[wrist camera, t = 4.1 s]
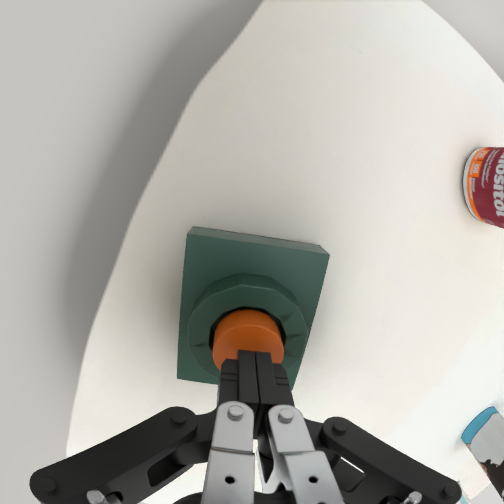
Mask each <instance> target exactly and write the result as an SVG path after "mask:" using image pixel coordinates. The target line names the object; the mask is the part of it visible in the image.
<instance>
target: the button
mask: <svg viewBox="0 0 504 504" xmlns="http://www.w3.org/2000/svg"><path fill="white" fill-rule="evenodd" d="M238 349H241V350H250V351H261V352H270V353H271V358H272V363H280V364H281V362H282V360H283V356H284V348H283V344H282V340H281V336H280V332H279V329H278V326H277V324H276V323H275V321H274V320H273V319H272V318H271V317H270V316H268V315H267V314H265V313H263V312H261V311H258V310H253V309H243V310H238V311H235V312H232V313H230V314H228V315H227V316H225V317H224V318H223V319H222V320H221V321H220V322H219V324H218V326H217V328H216V330H215V336H214V344H213V360H214V362H215V364H216V366H217V368H218V369H219V370H220V369H221V364H222V363H223V362H224V360H225V359H226V358H228V359H236V357H237V352H238Z"/></svg>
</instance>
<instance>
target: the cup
mask: <svg viewBox="0 0 504 504" xmlns="http://www.w3.org/2000/svg"><path fill="white" fill-rule="evenodd" d="M462 440H463V441H464V443H465V444H466V446H467V447H468V448H469V450H470V451H471V453H472V454H473V456H474V457H475V459H476V460H477V461H478V463H479V464H480V466H481V467H482V469H483V470H484V472H485V473H486V475H487V476H488V478H489V479H490V481H491V482H492V484H493V485H494V487H495V488H496V490H497V491H498V493H499V495H500V496H501V498H502V499H503V501H504V418H503V417H502V416H501V415H500V413H499V412H498V411H497V410H496V409H495V408H494V407H490V408H488V409H486V410H484V411H483V412H482V413H480V414H479V415H478V416H477V417H476V418H475V419H474V420H473V421H472V422H471V423H470V424H469V425H468V427H467V428H466V429H465V431H464V432H463V434H462Z"/></svg>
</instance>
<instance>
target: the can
mask: <svg viewBox="0 0 504 504" xmlns="http://www.w3.org/2000/svg"><path fill="white" fill-rule="evenodd" d="M458 484H459V485H460V487H461V490H462V496H461V499H460V500H459V501H458V502H457V503H456V504H472V503H471V501H470V499H469V498H468V496H467V494H466V492H465V491H464V489H463V487H462V486H461V484H460V483H458Z"/></svg>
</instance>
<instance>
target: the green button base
mask: <svg viewBox="0 0 504 504" xmlns="http://www.w3.org/2000/svg"><path fill="white" fill-rule="evenodd" d="M329 256H330V255H329V254H328V253H327V252H326V251H325V250H324V249H323V248H322V247H321V246H320V245H314V244H308V243H301V242H295V241H288V240H282V239H275V238H269V237H262V236H255V235H249V234H242V233H235V232H228V231H221V230H214V229H207V228H200V227H193V228H192V229H191V230H190V231H189V233H188V234H187V241H186V250H185V260H184V271H183V282H182V294H181V307H180V322H179V339H178V361H177V379H182V380H189V381H195V382H202V383H209V384H217V385H218V383H219V376H220V370H219V369H218V368H217V366H216V364H215V362H214V360H213V344H214V336H215V330H216V328H217V326H218V324H219V322H220V321H221V320H222V319H223V318H224V317H225V316H227V315H228V314H230V313H232V312H235V311H238V310H243V309H253V310H258V311H261V312H263V313H265V314H267V315H268V316H270V317H271V318H272V319H273V320H274V321H275V323H276V324H277V326H278V329H279V332H280V336H281V340H282V344H283V348H284V356H283V360H282V362H281V365H282V366H283V367H284V368H285V370H286V372H287V376H288V380H289V386H290V388H291V391H292V390H293V386H294V383H295V380H296V377H297V374H298V371H299V368H300V364H301V361H302V358H303V354H304V351H305V348H306V344H307V341H308V337H309V334H310V330H311V327H312V323H313V320H314V316H315V312H316V308H317V305H318V301H319V297H320V293H321V289H322V285H323V281H324V277H325V273H326V269H327V265H328V260H329Z"/></svg>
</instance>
